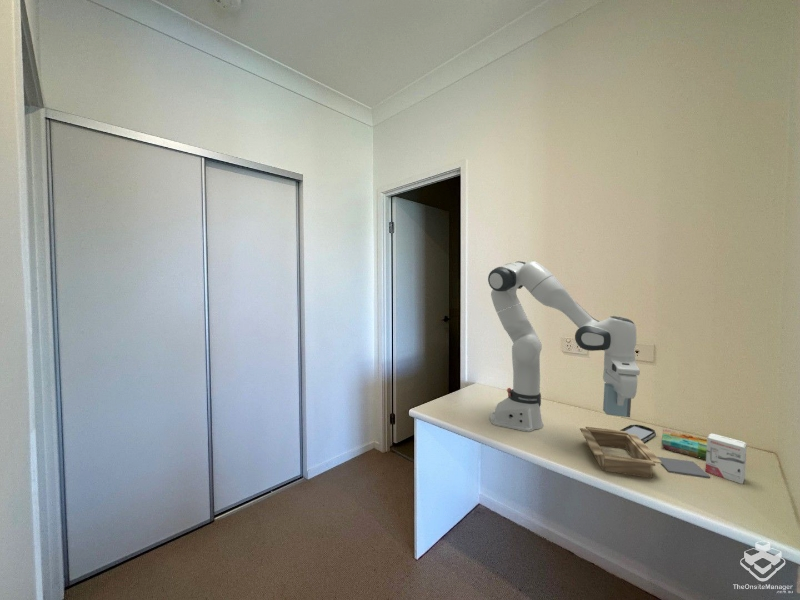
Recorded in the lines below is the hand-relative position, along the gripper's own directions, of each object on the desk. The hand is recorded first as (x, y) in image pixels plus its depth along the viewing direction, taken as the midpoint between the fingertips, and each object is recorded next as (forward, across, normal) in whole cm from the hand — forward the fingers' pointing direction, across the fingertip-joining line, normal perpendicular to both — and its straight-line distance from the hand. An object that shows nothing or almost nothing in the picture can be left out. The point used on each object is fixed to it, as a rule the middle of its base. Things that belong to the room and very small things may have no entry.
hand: (616, 402), depth 111 cm
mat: (+20, 0, +20) cm, 28 cm away
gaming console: (+20, -22, +15) cm, 33 cm away
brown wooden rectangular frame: (+20, 0, +1) cm, 20 cm away
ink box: (+20, +1, +31) cm, 37 cm away
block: (+4, 0, 0) cm, 4 cm away
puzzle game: (+20, -14, +31) cm, 39 cm away
